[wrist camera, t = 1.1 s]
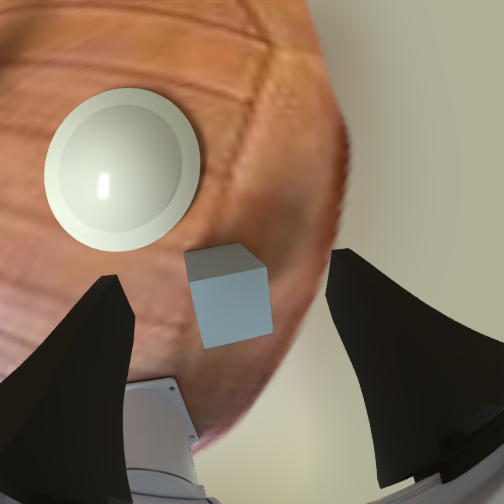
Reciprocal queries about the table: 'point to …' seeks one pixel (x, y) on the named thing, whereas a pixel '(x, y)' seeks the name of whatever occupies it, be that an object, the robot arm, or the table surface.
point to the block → (229, 294)
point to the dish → (122, 169)
